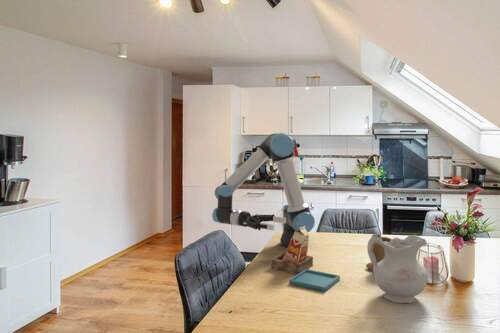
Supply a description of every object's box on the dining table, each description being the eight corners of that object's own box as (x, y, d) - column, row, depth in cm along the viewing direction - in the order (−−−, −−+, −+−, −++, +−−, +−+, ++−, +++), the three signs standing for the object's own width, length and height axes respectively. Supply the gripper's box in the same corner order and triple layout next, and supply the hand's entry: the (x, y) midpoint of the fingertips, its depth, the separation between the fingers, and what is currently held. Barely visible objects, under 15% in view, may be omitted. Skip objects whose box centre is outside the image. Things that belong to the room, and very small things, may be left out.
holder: (271, 268, 190) (271, 259, 190) (286, 260, 202) (286, 251, 202) (299, 274, 182) (299, 264, 182) (312, 265, 194) (312, 256, 194)
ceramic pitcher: (379, 312, 146) (383, 245, 142) (358, 287, 165) (361, 228, 161) (435, 308, 149) (441, 243, 145) (408, 285, 168) (413, 226, 164)
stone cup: (381, 276, 180) (382, 242, 178) (362, 268, 190) (362, 237, 189) (405, 270, 187) (406, 238, 186) (385, 263, 197) (386, 233, 196)
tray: (289, 284, 171) (289, 279, 170) (305, 273, 184) (306, 268, 184) (325, 292, 162) (325, 287, 162) (339, 280, 175) (339, 275, 175)
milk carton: (297, 272, 185) (307, 232, 180) (280, 263, 190) (289, 224, 184) (306, 265, 193) (316, 227, 187) (289, 257, 198) (298, 220, 192)
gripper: (228, 216, 194) (268, 222, 184) (252, 206, 215) (289, 210, 206) (228, 232, 195) (268, 238, 185) (252, 219, 216) (289, 225, 207)
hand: (279, 223), depth 195 cm, fingers open, 13 cm apart
